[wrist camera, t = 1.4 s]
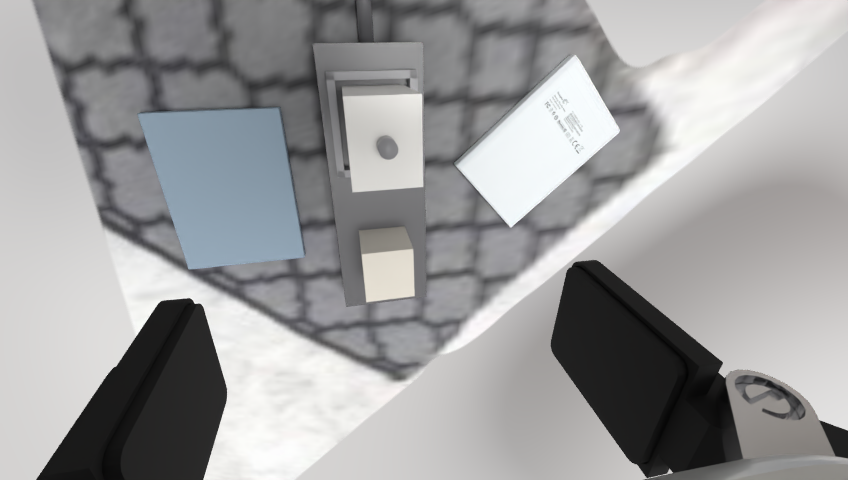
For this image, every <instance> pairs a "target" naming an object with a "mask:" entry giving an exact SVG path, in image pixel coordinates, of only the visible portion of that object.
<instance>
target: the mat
mask: <svg viewBox="0 0 848 480" xmlns="http://www.w3.org/2000/svg"><path fill="white" fill-rule="evenodd" d="M137 115H138V118H139V121H140V124H141V127H142V130H143V133H144V136H145V139H146V142H147V145H148V148H149V151H150V154H151V157H152V160H153V163H154V166H155V169H156V172H157V175H158V178H159V181H160V184H161V187H162V190H163V193H164V196H165V199H166V202H167V205H168V208H169V211H170V214H171V217H172V220H173V223H174V226H175V229H176V232H177V235H178V238H179V241H180V244H181V247H182V250H183V253H184V256H185V259H186V262H187V265H188V268H189V269H199V268H208V267H218V266H227V265H237V264H247V263H256V262H266V261H275V260H285V259H295V258H304V257H305V248H304V242H303V236H302V231H301V225H300V219H299V213H298V207H297V201H296V196H295V190H294V184H293V178H292V172H291V166H290V161H289V155H288V149H287V143H286V137H285V131H284V126H283V120H282V114H281V108H280V107H265V108H239V109H213V110H186V111H160V112H142V113H138V114H137Z"/></svg>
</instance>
